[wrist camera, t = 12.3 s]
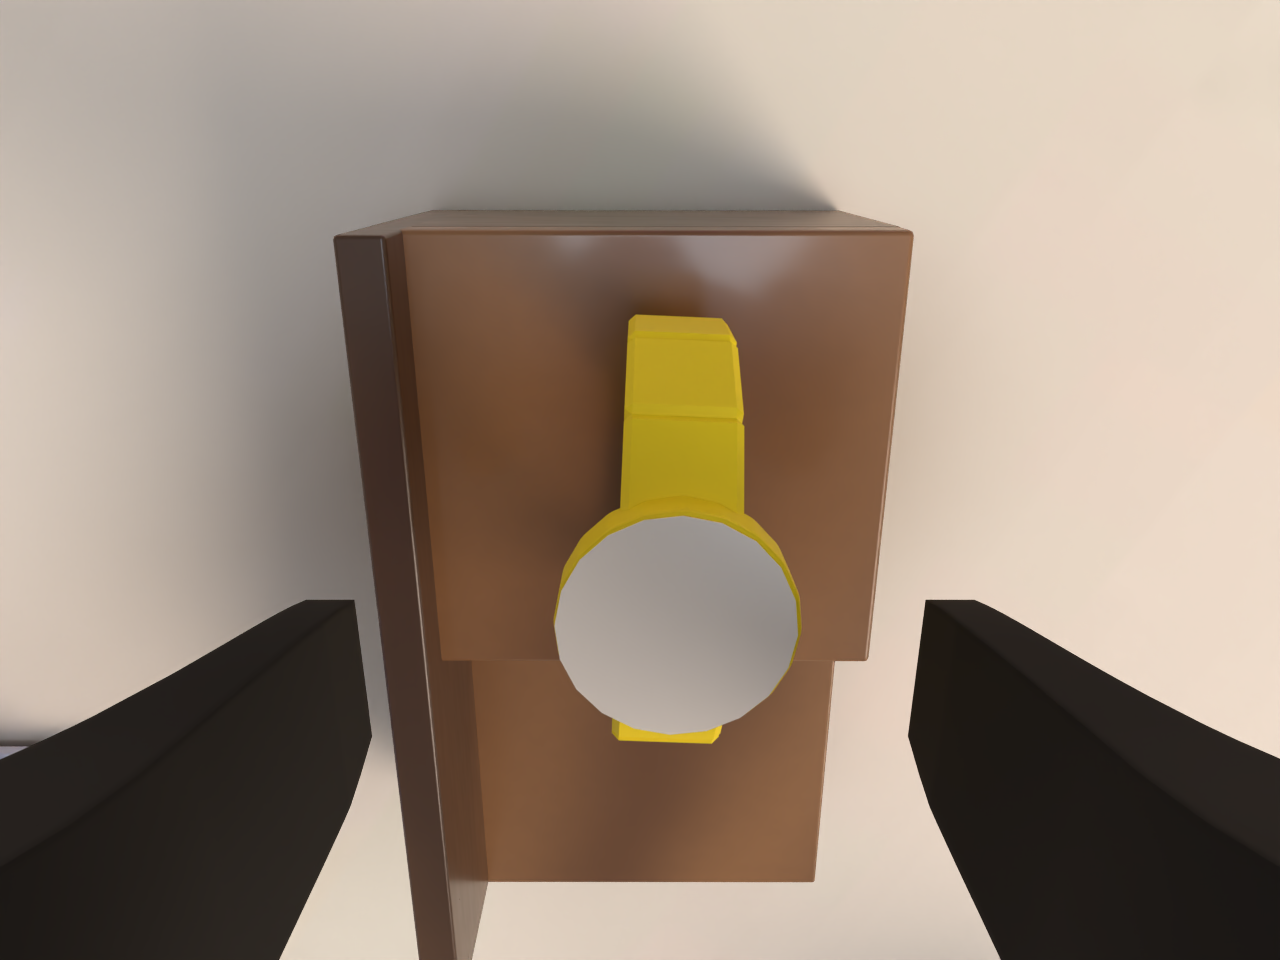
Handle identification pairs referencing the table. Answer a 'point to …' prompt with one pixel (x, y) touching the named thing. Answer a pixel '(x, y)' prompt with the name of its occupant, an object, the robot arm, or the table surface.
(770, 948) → the table surface
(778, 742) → the step shelf
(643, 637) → the watch
